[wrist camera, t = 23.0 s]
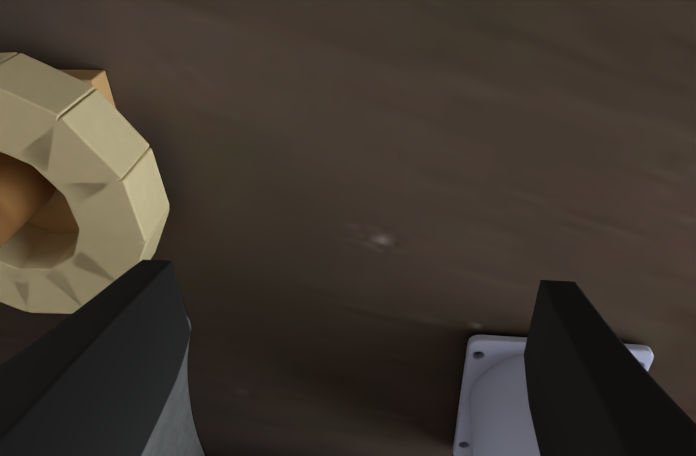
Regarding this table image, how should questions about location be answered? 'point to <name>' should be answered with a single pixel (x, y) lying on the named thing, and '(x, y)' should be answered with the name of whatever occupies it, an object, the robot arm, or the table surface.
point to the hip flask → (176, 422)
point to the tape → (75, 188)
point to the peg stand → (39, 184)
